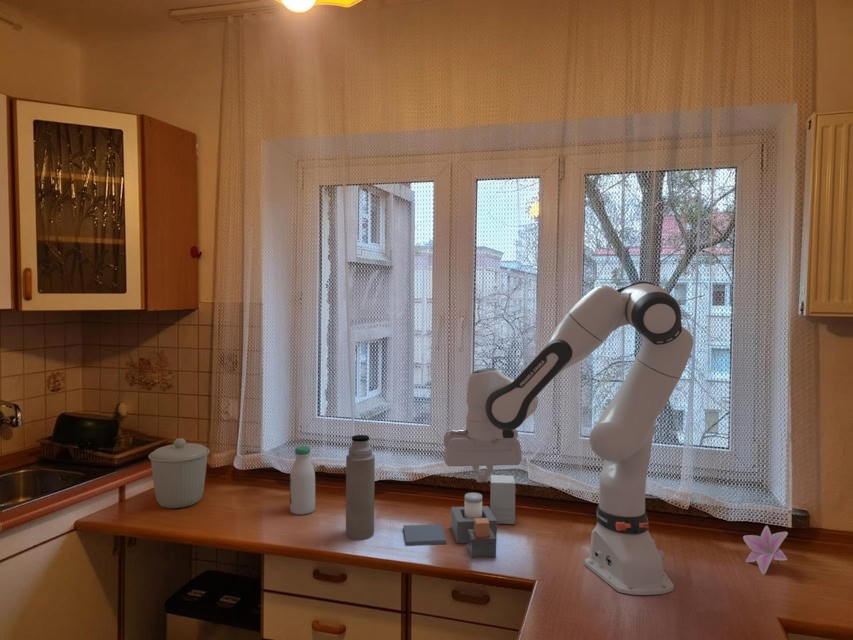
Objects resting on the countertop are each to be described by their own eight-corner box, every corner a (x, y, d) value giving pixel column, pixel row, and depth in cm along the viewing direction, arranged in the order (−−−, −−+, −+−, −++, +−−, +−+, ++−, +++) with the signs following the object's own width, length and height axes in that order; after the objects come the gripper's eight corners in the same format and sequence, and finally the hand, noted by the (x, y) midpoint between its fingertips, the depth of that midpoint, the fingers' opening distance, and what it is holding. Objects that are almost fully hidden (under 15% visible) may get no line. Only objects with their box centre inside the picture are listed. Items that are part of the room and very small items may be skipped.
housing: (496, 541, 156) (496, 520, 156) (457, 543, 155) (457, 521, 155) (487, 525, 167) (488, 505, 167) (450, 527, 166) (451, 507, 166)
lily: (742, 555, 152) (730, 527, 150) (789, 544, 148) (778, 516, 146) (757, 590, 141) (745, 560, 139) (809, 579, 137) (797, 549, 135)
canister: (170, 491, 193) (170, 430, 192) (220, 495, 190) (220, 433, 190) (136, 511, 175) (135, 444, 174) (190, 515, 173) (190, 447, 172)
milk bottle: (320, 509, 178) (320, 446, 178) (302, 517, 172) (302, 452, 171) (302, 504, 183) (302, 443, 182) (284, 512, 176) (284, 448, 175)
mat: (446, 543, 155) (446, 540, 155) (406, 545, 153) (406, 541, 153) (440, 527, 166) (440, 524, 166) (403, 528, 164) (403, 525, 164)
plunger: (489, 545, 148) (489, 523, 148) (476, 546, 148) (476, 523, 147) (486, 540, 151) (486, 518, 151) (473, 540, 151) (474, 518, 151)
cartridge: (483, 537, 159) (484, 498, 158) (465, 538, 158) (466, 498, 158) (479, 530, 164) (480, 492, 163) (462, 531, 163) (463, 492, 163)
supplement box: (513, 515, 176) (514, 475, 175) (515, 525, 168) (515, 483, 168) (489, 514, 176) (490, 474, 176) (490, 523, 169) (490, 481, 168)
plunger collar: (495, 557, 147) (496, 538, 147) (471, 558, 146) (471, 539, 146) (490, 546, 153) (490, 528, 153) (467, 547, 152) (467, 529, 152)
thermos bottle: (361, 525, 166) (362, 431, 165) (379, 533, 161) (380, 436, 160) (340, 534, 160) (340, 436, 159) (358, 542, 155) (358, 441, 154)
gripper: (445, 433, 144) (445, 486, 145) (523, 431, 146) (522, 484, 147) (442, 427, 150) (441, 478, 151) (517, 426, 153) (516, 476, 153)
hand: (482, 481), depth 149 cm, fingers closed
